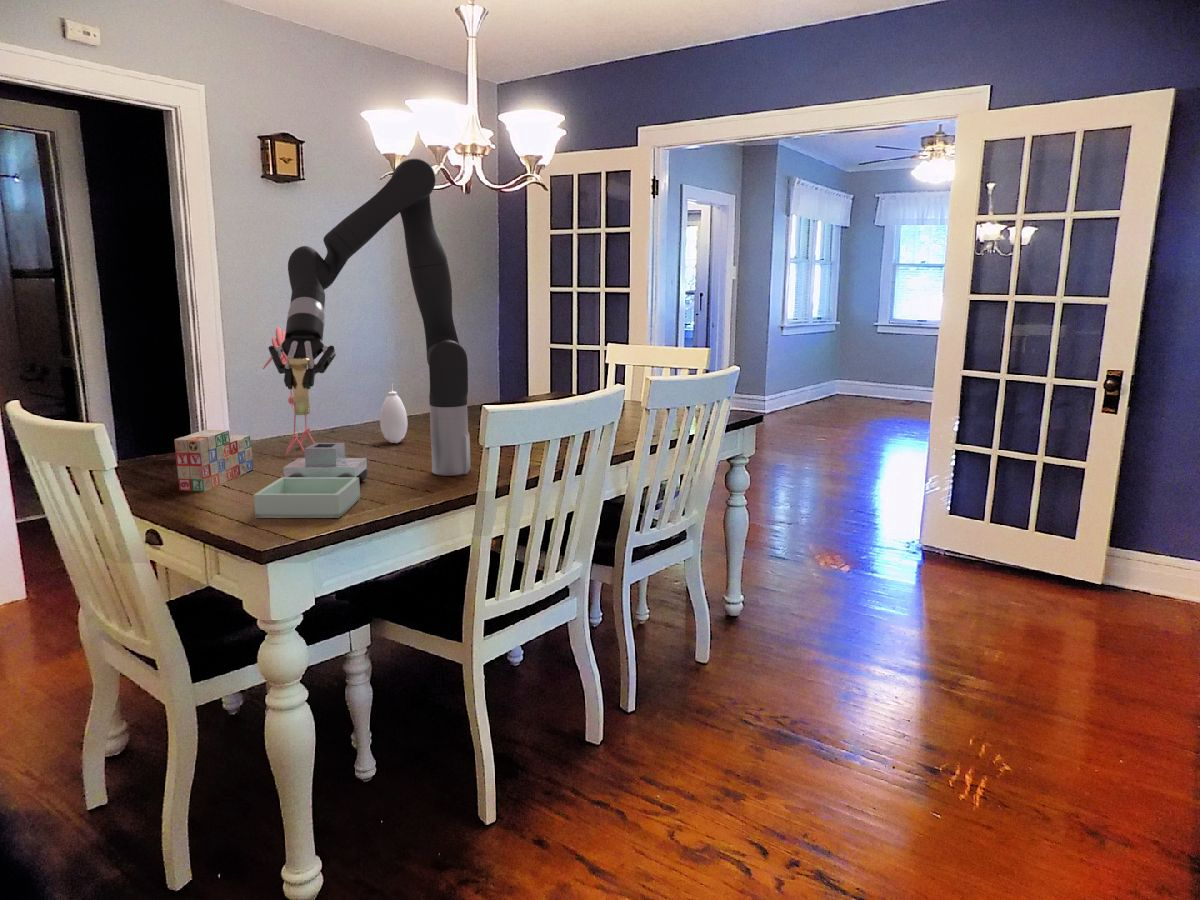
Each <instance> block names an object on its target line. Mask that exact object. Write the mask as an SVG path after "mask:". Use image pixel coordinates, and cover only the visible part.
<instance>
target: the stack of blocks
mask: <svg viewBox="0 0 1200 900" xmlns="http://www.w3.org/2000/svg"><path fill="white" fill-rule="evenodd" d="M173 443H174V449H175V454H174V455H175V461H176V469H177V477H178V481H177V482H178V489H179V490H178V491H180V490H181V491H182V492H207V491H209V490H212V489H214V488H216V487H215V486H217V487H218V485H219V486H221V485H223V484H222V483H224V482H226V481H228V480H230V481H232V480H234V479H233V478H235V477H237V476H239V475H242V474H244V473H246V472H248V471H250V470H253V471H254V464H253V463H254V462H253V451H252V449H253V448H252V444H251V435H243V434H237V435H236V434H235V435H234V434H230V430H229V429H204V430H200V431H196V432H194V433H191V434H188V435H185V436H180V437H178V438H175V439H174V442H173ZM246 474H247V473H246ZM244 475H245V474H244ZM242 476H243V475H242ZM239 477H240V476H239ZM237 478H238V477H237ZM231 479H232V480H231ZM235 479H236V478H235ZM228 482H229V481H228ZM226 483H227V482H226ZM220 484H221V485H220ZM224 484H225V483H224ZM208 489H209V490H208ZM183 490H184V491H183ZM206 490H207V491H206ZM181 491H180V492H181Z"/></svg>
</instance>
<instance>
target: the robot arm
mask: <svg viewBox="0 0 1200 900" xmlns="http://www.w3.org/2000/svg"><path fill="white" fill-rule="evenodd" d="M435 186H436V174H435V171H434V168H433V167H432V166H431V165H430V164H429V163H428V162H427V161H426V160H423V159H421V158H407V159H405V160H404V161H402V162H401V163H399V164H398V165H397V166H396V167H395V168H394V170H393V171H392V174H391V178H389V180H388V181H387V182H386V184H385V185H384V186H383V187H381V189H380V190H379V191H378V192H376V194H374V195H373V196H372V197H371V198H370V199H368V200H367V201H366V202H364V203H363V204H362V205H360V206H359V207H358V208H357V209H355V210H354V211H352V212H351V213H350V214H349V215H347V216H346V217H345V218H343V220H341V221H340V222H339V223H338V224H337V225H335V226H334V227H333V228H332V229H331V230H329V231H328V232H327V233H326V234H325V235H324V237H323V244H324V245H325V248H326V251H327V253H326V256H325V257H322V256H321V254H319V253H320V252H319V251H317V250H316V249H314V247H312V246H307V245H301V246H298V247H297V248H295V249H294V250H293V251H292V253H290V256H289V258H288V260H287V262H288V263H287V272H288V274H287V275H288V279H289V285H290V289H291V296H290V304H289V307H288V312H287V317H286V327H285V331H286V333H285V340H284V342H283V343H282V345H281V346H279V347H276V348H275V347H274V346H273V345H269V347H268V348H267V349H268V351H269V355H270V357H272V362H273V364H274V366H275V368H276V369H277V372H278V374H281V375H282V374H284V378H283V383H284V386H285V387H286V388H287V389H288V390H290V389H292V390H293V381H292V368H291V365H288V358H310V364H309V365H307V370H306V378H305V386H306V389H308V390H311V388H312V387H314V386H315V385H314V384H315V377H316V374H324V373H325V372H326V371H327V369H328V368H329V367H330V365H331V363H332V361H333V360H334V359H335V357H336V355H337V354H336V351H335V350H336V349H335V346H334V345H329V346H326V345H324V342H323V339H324V330H325V329H324V328H325V322H326V321H325V319H326V318H325V306H326V303H325V301H326V293H325V290H327V289H328V288H330V287H331V285H332V284H333V283H334V282H335V280H336V279H337V278H338V276H339V274H340V273H341V271H342V270H343V268H344V267H345V266H346V264H347V262H348V261H349V259H350V258H351V257H352V256H353V255H355V254H356V253H357V252H358V251H359V250H360V249H362V248H363V247H364V246H365V245H366V244H367V243H369V242H370V240H371V239H373V237H375V236H376V235H377V233H378V232H380V231H381V230H382V229H383V228H384V226H386V225H387V224H388V223H389V222H390V221H391V220H393V218H395V217H396V216H398V214H400V218H401V222H402V226H403V231H404V232H403V233H404V241H405V248H406V255H407V256H406V257H407V261H408V262H407V263H408V267H409V273H410V277H411V278H410V279H411V282H412V287H413V291H414V295H415V298H416V303H417V304H418V308H419V312H420V315H421V318H422V322H423V328H424V337H425V347H426V348H425V350H426V362H427V365H428V369H429V395H428V396H429V397H428V399H429V400H428V401H429V421H430V423H429V424H430V427H429V428H430V449H431V473H432V474H433V475H437V476H446V477H447V476H461V475H468V474H469V472H470V471H471V441H470V440H471V436H470V432H469V426H468V424H469V422H468V415H469V414H468V394H469V366H468V365H469V364H468V363H469V362H468V361H469V360H468V354H467V352H466V350H465V348H464V347H463V346H462V345H461V344H460V342H459V341H460V340H459V339H458V334H457V331H456V328H455V323H454V317H453V289H452V281H451V280H452V279H451V273H450V268H449V267H450V266H449V262H448V258H447V254H446V250H445V248H444V246H443V242H442V240H441V238H440V236H439V233H438V230H437V228H436V226H435V223H434V218H433V212H432V204H431V194H432V192H433V191H434V189H435ZM282 352H284V353H285V354H286V355H287V362H286V365H285V364H282V362H281V360H280V357H281V356H282V354H281V353H282ZM321 354H322V355H321ZM320 355H321V357H320V358H319V360H318V361H317V363H315V360H316V359H317V358H318V357H319V356H320Z"/></svg>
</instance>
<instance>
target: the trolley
mask: <svg viewBox="0 0 1200 900" xmlns="http://www.w3.org/2000/svg"><path fill="white" fill-rule="evenodd" d="M304 450H305V454H304V457H298V458H297V459H295V460H294V461H292V462H290V463H288V464H286V465H284V466H283V467H282V468H283V477H359V483H361V482H363V481H364V480H366V478H367V477H368V475H369V470H368V465H367V464H368V463H367V457H346V447H345V442H315V443H313V442H312V444H310V445H308V446H306V447H304Z"/></svg>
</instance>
